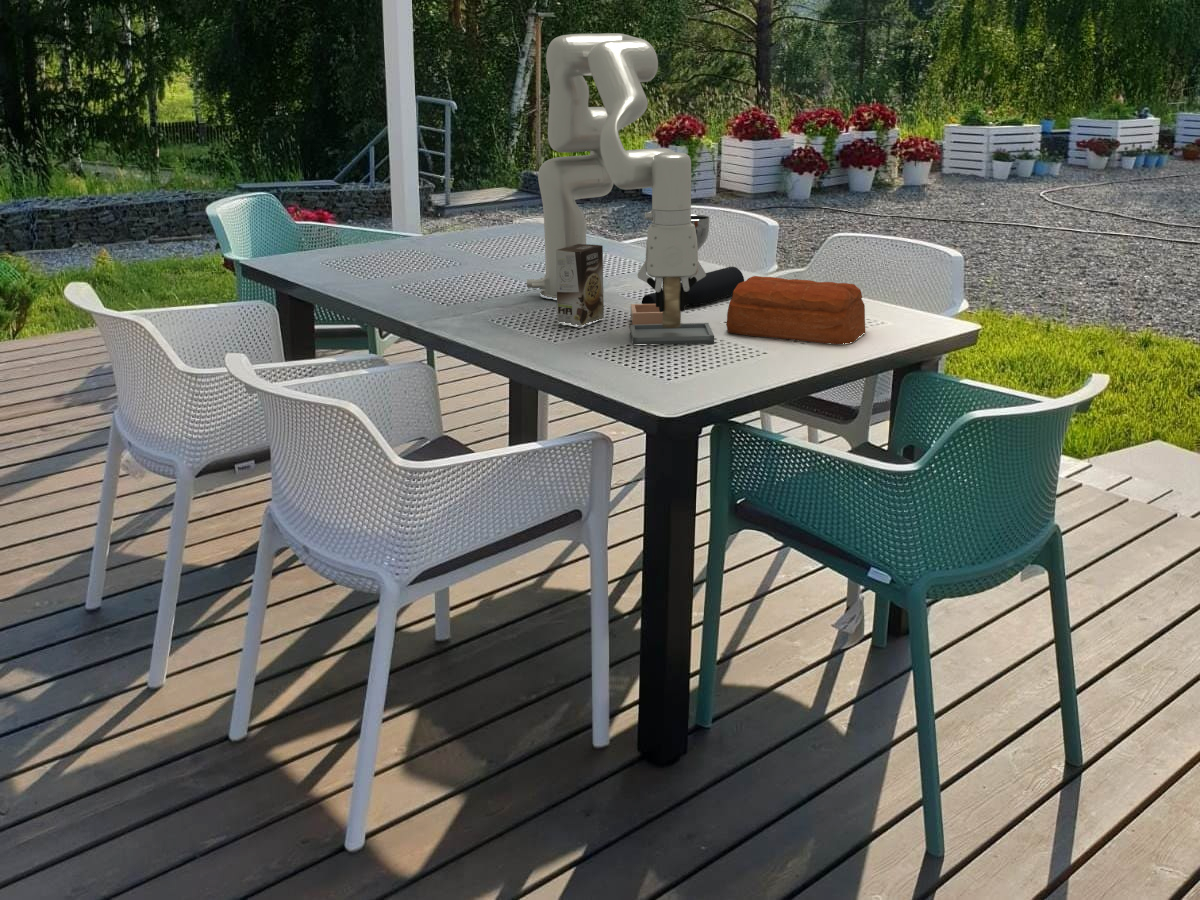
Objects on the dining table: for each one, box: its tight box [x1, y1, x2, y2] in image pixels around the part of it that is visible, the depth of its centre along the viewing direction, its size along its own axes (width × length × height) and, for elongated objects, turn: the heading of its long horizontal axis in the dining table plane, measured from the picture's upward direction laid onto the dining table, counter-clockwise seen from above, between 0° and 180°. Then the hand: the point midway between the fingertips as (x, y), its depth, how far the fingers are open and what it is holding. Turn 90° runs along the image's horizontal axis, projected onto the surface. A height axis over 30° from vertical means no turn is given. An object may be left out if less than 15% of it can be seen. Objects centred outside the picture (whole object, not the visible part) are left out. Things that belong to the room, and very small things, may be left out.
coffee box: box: [556, 243, 605, 325], centre depth 260 cm, size 9×6×16 cm
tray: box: [629, 322, 715, 346], centre depth 248 cm, size 16×11×2 cm
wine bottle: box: [641, 266, 745, 306], centre depth 275 cm, size 6×6×30 cm
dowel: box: [662, 277, 682, 328], centre depth 246 cm, size 4×4×11 cm
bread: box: [725, 275, 866, 345], centre depth 249 cm, size 16×27×11 cm, turn 62°
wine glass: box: [688, 214, 710, 278], centre depth 302 cm, size 8×8×15 cm
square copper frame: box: [630, 303, 663, 325], centre depth 260 cm, size 9×9×3 cm
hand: (671, 309), depth 246 cm, fingers closed on dowel, 3 cm apart
